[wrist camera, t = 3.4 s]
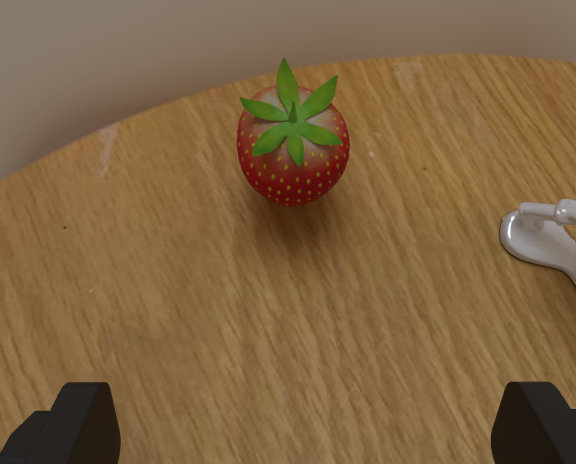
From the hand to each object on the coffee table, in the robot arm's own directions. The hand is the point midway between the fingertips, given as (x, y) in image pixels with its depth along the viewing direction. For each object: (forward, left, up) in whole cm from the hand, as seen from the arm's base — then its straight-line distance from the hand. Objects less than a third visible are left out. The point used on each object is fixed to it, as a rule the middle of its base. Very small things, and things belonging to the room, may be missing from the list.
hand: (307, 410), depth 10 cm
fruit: (-2, +11, -14) cm, 18 cm away
